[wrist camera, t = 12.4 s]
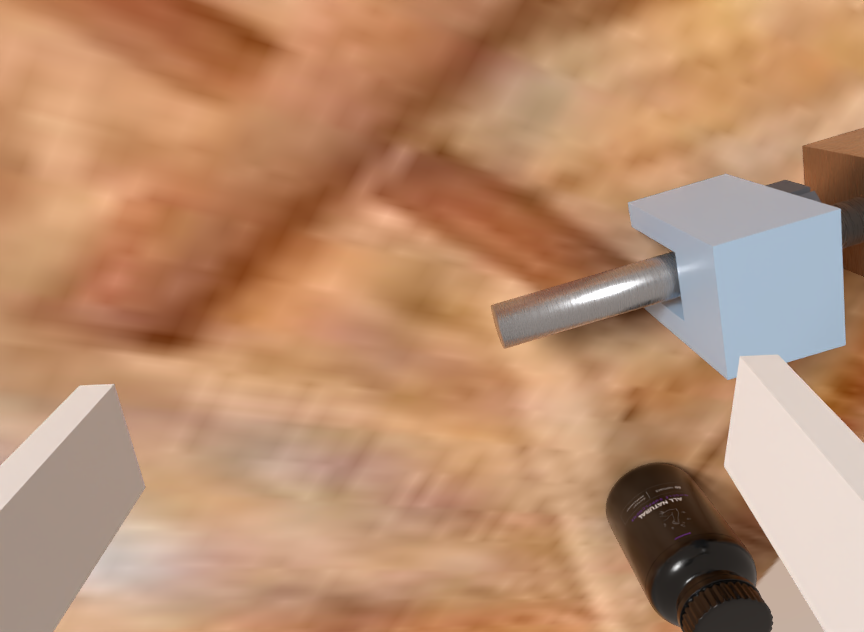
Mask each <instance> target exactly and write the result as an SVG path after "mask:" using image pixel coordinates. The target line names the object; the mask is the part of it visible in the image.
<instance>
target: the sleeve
mask: <svg viewBox="0 0 864 632" xmlns="http://www.w3.org/2000/svg"><path fill="white" fill-rule="evenodd" d="M628 207H629V213H630V219H631V226H632V227H633V228H635V229H636V230H638V231H640V232H641V233H643V234H645V235H647V236H648V237H650V238H652V239H653V240H655V241H657V242H658V243H660V244H662V245H663V246H665V247H667V248H668V249H670V250H672V251H673V252H675V256H676V263H677V271H678V278H679V285H680V292H681V297H677V298H674V299H670V300H667V301H664V302H660V303H657V304H654V305H650V306H647V307H645V310H647V311H648V312H649V313H650V314H651V315H652V316H654V317H655V318H656V319H657V320H658V321H659V322H661V323H662V324H663V325H664V326H665V327H666V328H668V329H669V330H670V331H671V332H672V333H673V334H675V335H676V336H677V337H678V338H679V339H680V340H682V341H683V342H684V343H685V344H686V345H687V346H689V347H690V348H691V349H692V350H693V351H694V352H696V353H697V354H698V355H699V356H700V357H701V358H703V359H704V360H705V361H706V362H707V363H708V364H710V365H711V366H712V367H713V368H714V369H716V370H717V371H718V372H719V373H720V374H721V375H723V376H724V377H725V378H726V379H727V380H730V379H733V378H736V377H737V372H738V365H739V358H740V356H754V355H777V354H778V355H779V356H780V357H781V358H782V359H783V360H784V361H785V362H786V363H787V362H790V361H794V360H797V359H800V358H804V357H807V356H811V355H814V354H817V353H821V352H824V351H828V350H831V349H834V348H838V347H841V346H844V345H846V339H845V312H844V284H843V257H842V229H841V209H840V208H837V207H834V206H830V205H827V204H824V203H820V202H817V201H814V200H811V199H807V198H804V197H801V196H797V195H794V194H791V193H787V192H784V191H781V190H778V189H774V188H771V187H768V186H764V185H761V184H758V183H754V182H751V181H748V180H745V179H741V178H738V177H735V176H731V175H728V174H723V175H720V176H716V177H713V178H710V179H706V180H703V181H699V182H696V183H693V184H689V185H686V186H682V187H679V188H676V189H672V190H669V191H666V192H662V193H659V194H655V195H652V196H649V197H645V198H642V199H638V200H635V201H632V202H628Z"/></svg>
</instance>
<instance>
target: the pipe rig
mask: <svg viewBox="0 0 864 632" xmlns="http://www.w3.org/2000/svg"><path fill="white" fill-rule="evenodd" d="M803 162H804V180H805V186H809V187H810V192H812V191H815V192H816V194H817V196H818V197H819V199H820V201H821V202H822V203H824V204H827V205H830V206H834V207H837V208H840V209H841V229H842V257H843V268H844V269H846V270H849V271H851V272H854V273H856V274H858V275H861V276H863V277H864V128H862V129H858V130H855V131H851V132H848V133H845V134H841V135H838V136H835V137H831V138H828V139H824V140H821V141H818V142H814V143H811V144H807V145H804V146H803ZM677 297H681V292H680V285H679V278H678V271H677V263H676V256H675V252H670V253H666V254H663V255H659V256H656V257H653V258H649V259H646V260H643V261H639V262H636V263H632V264H629V265H626V266H622V267H619V268H615V269H612V270H609V271H605V272H602V273H599V274H595V275H592V276H588V277H585V278H582V279H578V280H575V281H571V282H568V283H565V284H561V285H558V286H555V287H551V288H548V289H544V290H541V291H538V292H534V293H531V294H527V295H524V296H521V297H517V298H514V299H510V300H507V301H504V302H500V303H497V304H494V305H491V309H492V314H493V319H494V322H495V326H496V329H497V332H498V335H499V338H500V341H501V343H502V346H503V348H504V349H505V348H508V347H511V346H515V345H518V344H522V343H525V342H528V341H532V340H535V339H539V338H542V337H545V336H549V335H552V334H555V333H559V332H562V331H566V330H569V329H572V328H576V327H579V326H583V325H586V324H589V323H593V322H596V321H599V320H603V319H606V318H610V317H613V316H616V315H620V314H623V313H626V312H630V311H633V310H637V309H640V308H643V307H647V306H650V305H654V304H657V303H660V302H664V301H667V300H670V299H674V298H677Z"/></svg>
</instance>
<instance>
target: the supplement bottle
mask: <svg viewBox="0 0 864 632" xmlns="http://www.w3.org/2000/svg"><path fill="white" fill-rule="evenodd" d="M606 515H607V519H608V522H609V524H610V527H611V529H612V531H613V533H614V535H615V537H616V539H617V541H618V542H619V544H620V546H621V548H622V550H623V552H624V554H625V556H626V558H627V560H628V562H629V564H630V566H631V568H632V570H633V571H634V573H635V575H636V577H637V579H638V581H639V583H640V585H641V587H642V589H643V591H644V593H645V595H646V597H647V598H648V600H649V602H650V604H651V606H652V607H653V609H654V610H655V611H656V612H657V614H658V615H659V616H661V617H662V618H663V619H664V620H666V621H668V622H669V623H671V624H673V625H676V626H678V627H681V629H682V631H683V632H770V631H771V630H772V625H773V622H772V618H773V616H772V615H771V611H770V609H769V607H768V606H767V605H766V603H765V602H764V600H763V599H762V598H761V595H760V593H759V591H758V590H757V589H756V580H757V574H756V567H755V563H754V560H753V558H752V556H751V555H750V553H749V552H748V550H747V549H746V547H745V546H744V545H743V543H742V542H741V541H740V539H739V538H738V537H737V536H736V534H735V533H734V532H733V530H732V529H731V528H730V526H729V525H728V524H727V523H726V521H725V520H724V519H723V517H722V516H721V515H720V513H719V512H718V511H717V510H716V508H715V507H714V506H713V504H712V503H711V502H710V500H709V499H708V498H707V497H706V495H705V494H704V493H703V491H702V490H701V489H700V487H699V486H698V485H697V484H696V483H695V481H694V480H693V479H692V478H691V477H690V476H689V475H688V474H687V473H686V472H685V471H684V470H682V469H680V468H678V467H676V466H673V465H670V464H664V463H653V464H647V465H643V466H640V467H637V468H635V469H633V470H631V471H629V472H628V473H626V474H625V475H624V476H622V477H621V478H620V479H619V480H618V481H617V483H616V484H615V485H614V486H613V488H612V490H611V491H610V494H609V496H608V499H607V503H606Z"/></svg>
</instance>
